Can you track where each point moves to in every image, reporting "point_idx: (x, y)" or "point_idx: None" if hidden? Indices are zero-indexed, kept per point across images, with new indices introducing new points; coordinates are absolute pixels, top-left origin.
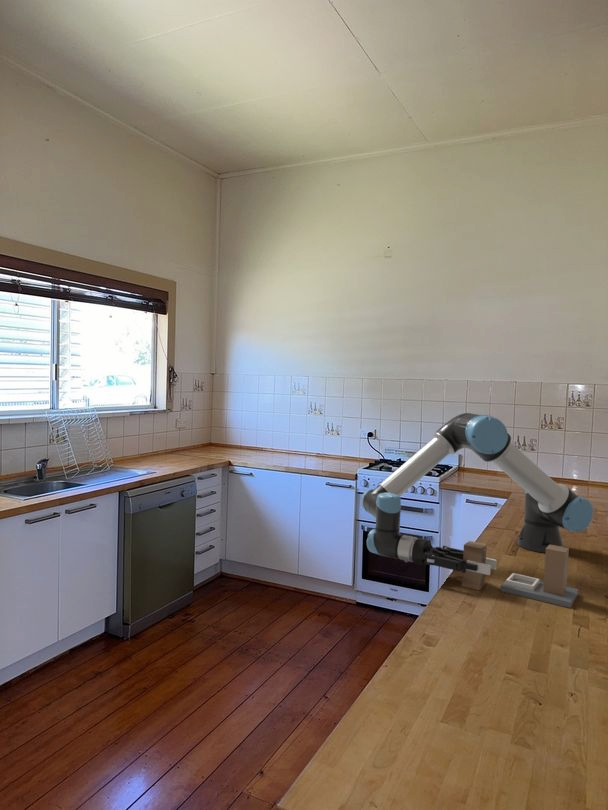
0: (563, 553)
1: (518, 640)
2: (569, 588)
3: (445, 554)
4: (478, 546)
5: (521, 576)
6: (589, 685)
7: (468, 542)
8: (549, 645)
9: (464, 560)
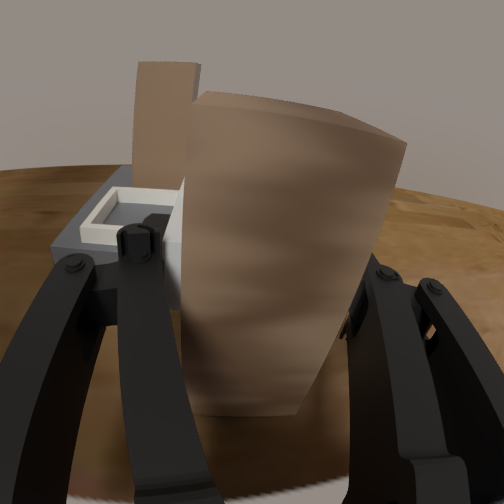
0: (200, 68)
1: (441, 235)
2: (124, 171)
3: (422, 457)
4: (318, 109)
5: (99, 214)
6: (436, 198)
7: (277, 112)
8: (408, 212)
9: (382, 268)
